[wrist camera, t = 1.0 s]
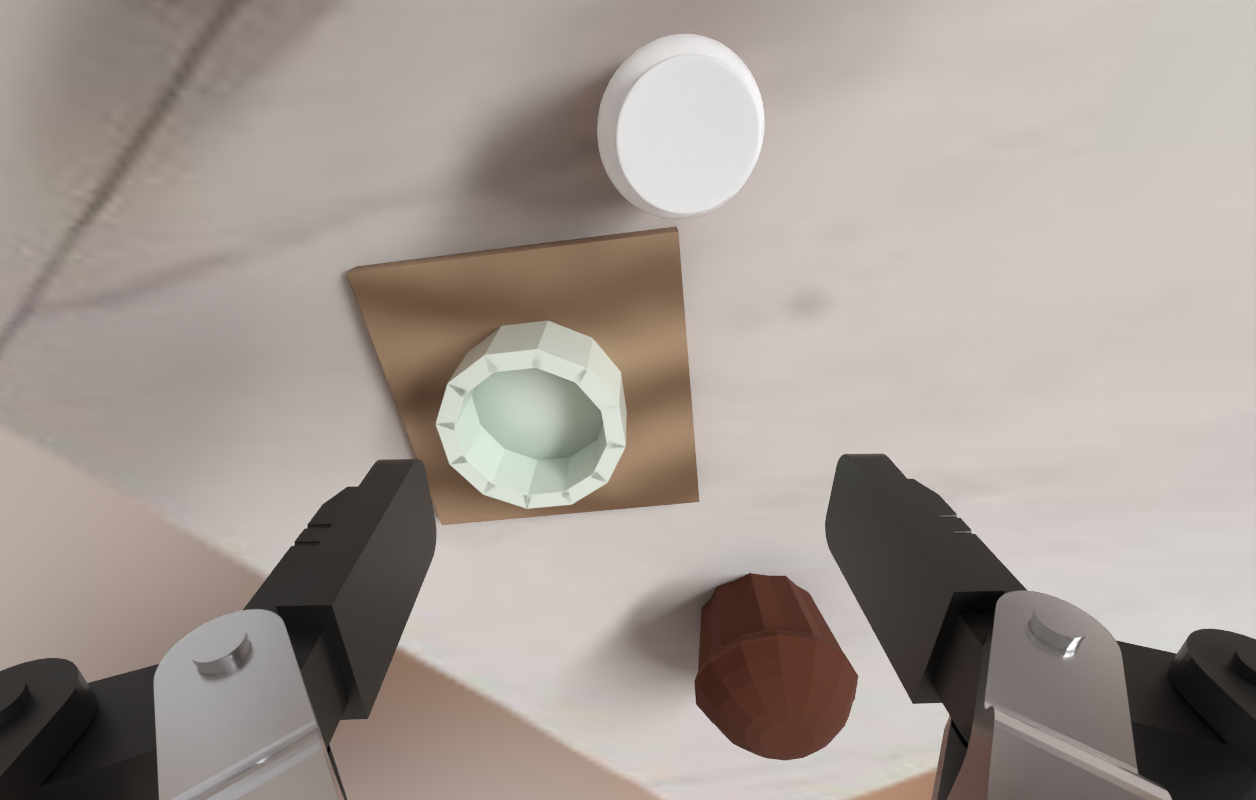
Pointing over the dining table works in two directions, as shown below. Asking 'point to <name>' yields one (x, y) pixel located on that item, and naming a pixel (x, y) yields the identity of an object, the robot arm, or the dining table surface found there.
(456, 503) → the walnut board
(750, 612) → the muffin
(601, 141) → the pill bottle
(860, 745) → the dining table surface
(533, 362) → the pale green bowl
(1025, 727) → the robot arm
